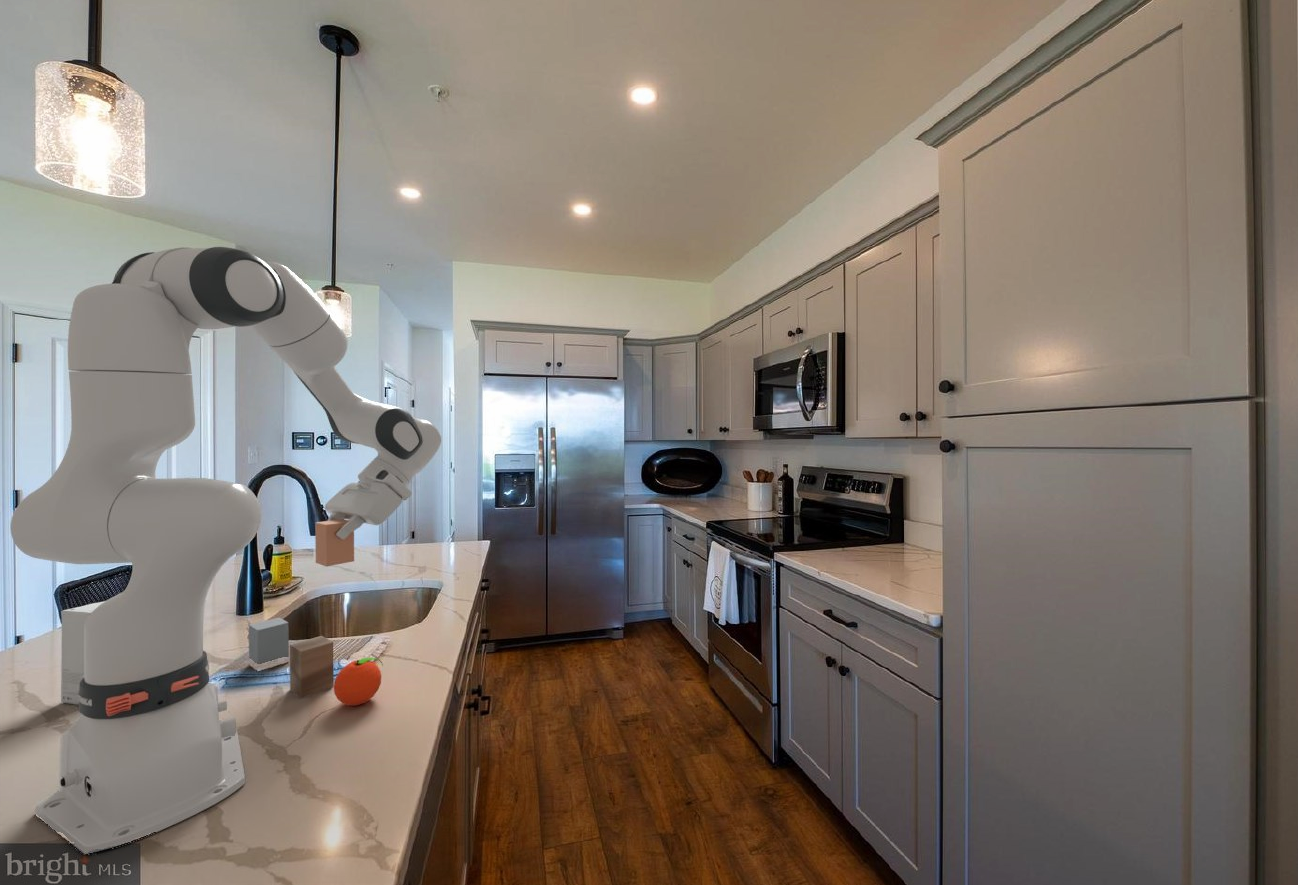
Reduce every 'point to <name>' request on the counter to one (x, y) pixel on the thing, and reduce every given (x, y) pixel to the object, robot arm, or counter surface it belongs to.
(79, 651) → the skincare box
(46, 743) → the counter surface
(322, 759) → the counter surface
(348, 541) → the terracotta block
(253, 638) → the slate-grey block
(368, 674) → the clementine
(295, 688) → the walnut block
